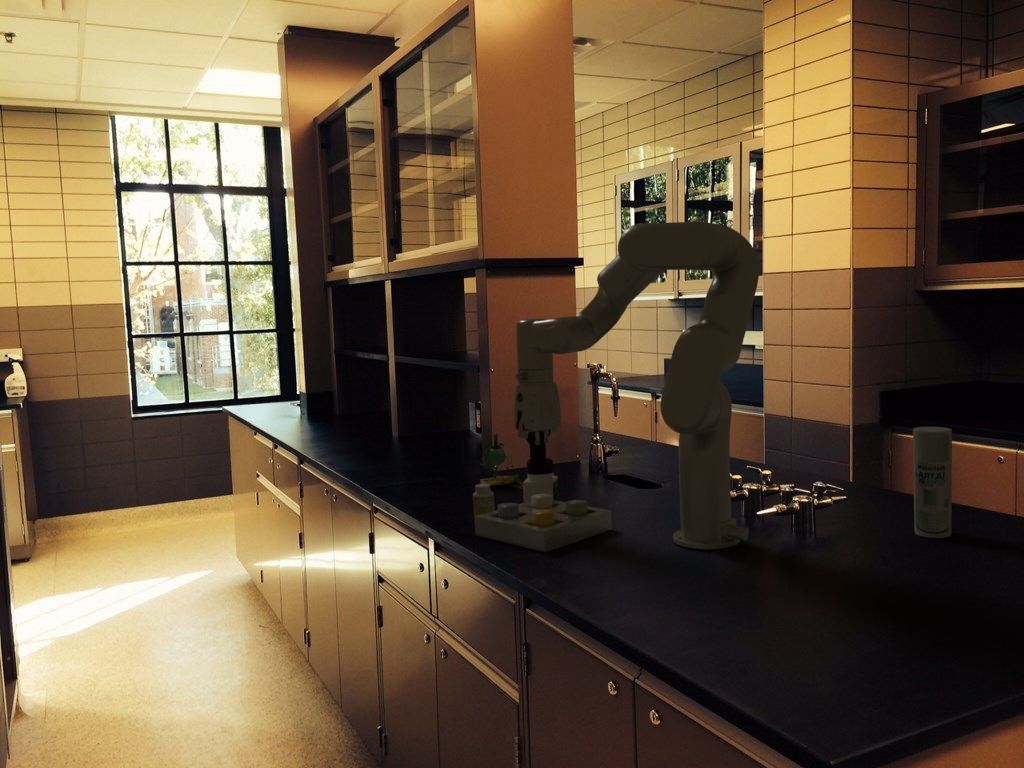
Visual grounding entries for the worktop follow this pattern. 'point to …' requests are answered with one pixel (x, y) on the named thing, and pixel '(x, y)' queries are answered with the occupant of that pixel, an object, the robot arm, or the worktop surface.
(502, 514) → the slate button
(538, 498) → the ivory button
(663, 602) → the worktop surface
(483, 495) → the supplement bottle
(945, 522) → the spray can
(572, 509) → the sage button
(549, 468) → the medicine bottle
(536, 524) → the amber rounded lump
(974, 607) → the worktop surface
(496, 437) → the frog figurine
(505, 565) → the worktop surface
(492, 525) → the panel
